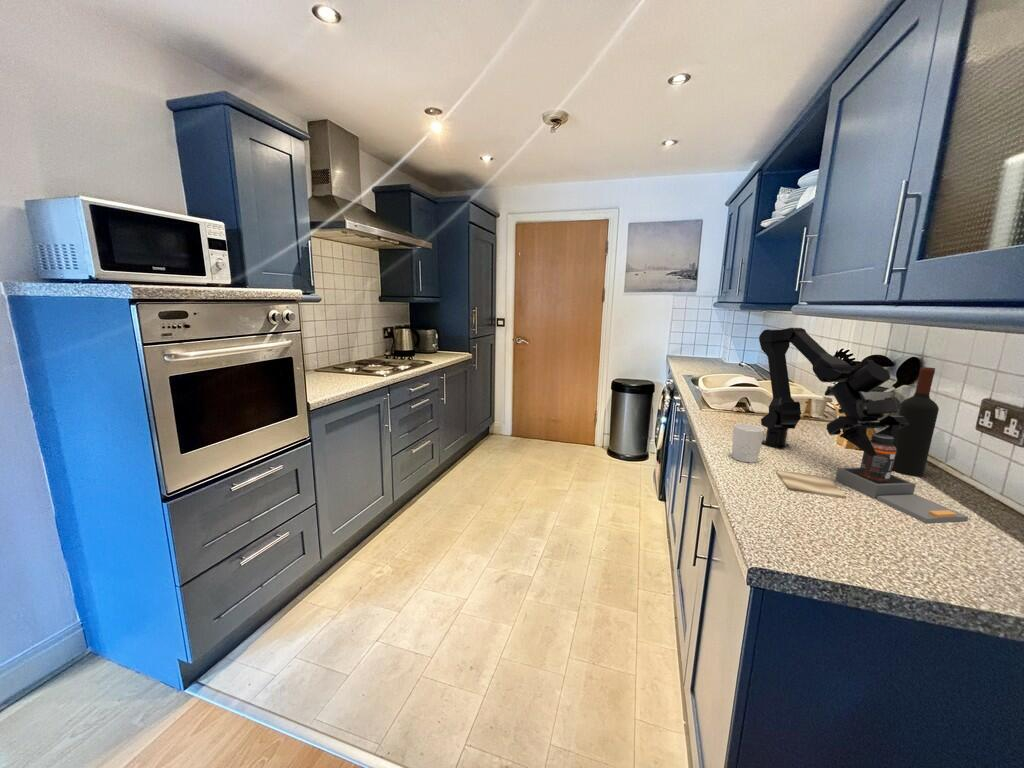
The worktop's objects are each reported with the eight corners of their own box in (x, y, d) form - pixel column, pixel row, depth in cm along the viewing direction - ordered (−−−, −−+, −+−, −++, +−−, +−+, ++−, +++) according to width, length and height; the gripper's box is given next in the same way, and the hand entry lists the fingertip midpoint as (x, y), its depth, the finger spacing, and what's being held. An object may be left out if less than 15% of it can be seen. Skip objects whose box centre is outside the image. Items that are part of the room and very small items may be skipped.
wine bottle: (892, 472, 114) (915, 368, 108) (883, 463, 121) (904, 364, 115) (928, 478, 111) (953, 370, 105) (917, 469, 117) (940, 367, 112)
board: (775, 471, 113) (775, 469, 113) (826, 479, 109) (827, 476, 109) (788, 489, 102) (788, 487, 102) (845, 498, 98) (846, 496, 98)
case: (835, 480, 108) (837, 468, 107) (870, 479, 109) (872, 467, 109) (925, 522, 87) (929, 508, 86) (967, 520, 88) (971, 506, 88)
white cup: (751, 454, 126) (756, 424, 124) (764, 464, 118) (769, 431, 116) (725, 453, 126) (729, 422, 125) (736, 463, 119) (741, 430, 117)
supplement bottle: (895, 484, 100) (906, 440, 97) (868, 481, 101) (877, 438, 99) (879, 474, 106) (888, 433, 103) (853, 472, 107) (862, 431, 104)
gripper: (845, 385, 101) (880, 442, 93) (909, 385, 103) (949, 441, 95) (812, 407, 110) (842, 461, 102) (872, 407, 113) (906, 459, 104)
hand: (885, 455), depth 101 cm, fingers closed on supplement bottle, 6 cm apart
